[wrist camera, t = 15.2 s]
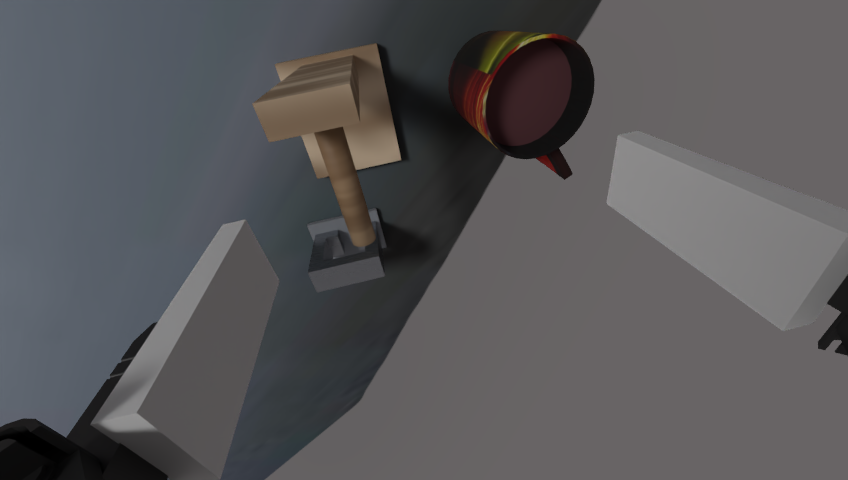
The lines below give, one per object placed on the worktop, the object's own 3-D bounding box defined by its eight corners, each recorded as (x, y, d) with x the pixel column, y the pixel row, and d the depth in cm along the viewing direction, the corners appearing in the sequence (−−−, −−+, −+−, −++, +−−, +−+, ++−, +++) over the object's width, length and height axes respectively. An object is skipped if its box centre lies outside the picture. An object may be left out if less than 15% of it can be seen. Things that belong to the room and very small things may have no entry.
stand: (277, 63, 33) (197, 103, 16) (375, 43, 33) (395, 62, 17) (321, 182, 40) (296, 293, 24) (401, 164, 41) (432, 260, 24)
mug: (527, 151, 43) (579, 190, 33) (433, 104, 38) (460, 133, 28) (574, 75, 38) (650, 94, 29) (476, 11, 33) (526, 6, 24)
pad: (307, 223, 43) (307, 225, 42) (375, 207, 43) (376, 210, 43) (323, 259, 46) (322, 262, 46) (386, 244, 47) (386, 247, 46)
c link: (323, 252, 45) (317, 292, 38) (315, 234, 43) (307, 272, 37) (380, 239, 45) (384, 276, 39) (375, 220, 44) (378, 256, 37)
